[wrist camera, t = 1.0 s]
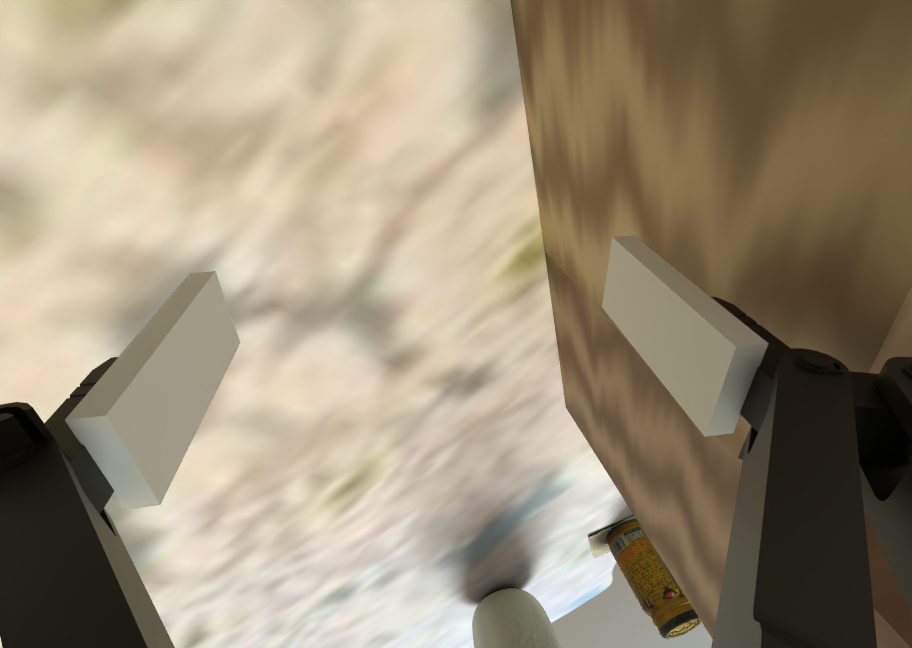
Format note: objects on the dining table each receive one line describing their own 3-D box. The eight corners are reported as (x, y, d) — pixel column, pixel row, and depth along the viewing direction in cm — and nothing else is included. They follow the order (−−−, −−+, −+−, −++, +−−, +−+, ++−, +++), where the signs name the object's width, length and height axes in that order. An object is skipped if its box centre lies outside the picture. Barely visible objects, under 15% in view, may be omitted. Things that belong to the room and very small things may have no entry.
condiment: (649, 531, 63) (709, 625, 54) (593, 556, 63) (644, 655, 54) (647, 507, 59) (712, 606, 49) (587, 534, 59) (641, 638, 49)
